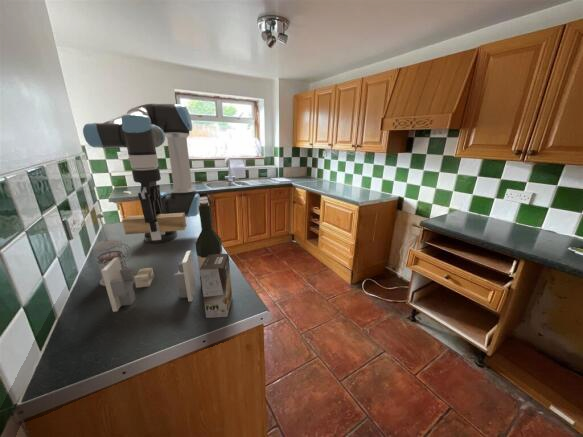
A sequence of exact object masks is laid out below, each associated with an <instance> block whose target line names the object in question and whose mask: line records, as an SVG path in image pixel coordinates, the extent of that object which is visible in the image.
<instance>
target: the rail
mask: <svg viewBox="0 0 583 437" xmlns="http://www.w3.org/2000/svg"><path fill="white" fill-rule="evenodd" d="M156 219H157V221H158V224H159V229H160V232H166V231H177V232H178V231H185V230H186V228H187V220H186V217H185V213H172V214H156ZM122 225H123V230H124V233H125V235H135V234H136V235H137V234H138V235H139V234H145V233H150V228H149V223H145V219H144V215H143V214H142V215H127V216H125V217H124V218H123V219H122Z"/></svg>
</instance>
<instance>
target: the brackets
mask: <svg viewBox="0 0 583 437" xmlns="http://www.w3.org/2000/svg"><path fill="white" fill-rule="evenodd" d="M108 263H109V264H108ZM108 263H107V264H108V265H107V266H106V267H105V268H104V269H103V270H102V275H103V278H104V282H105V285H106V286H105V288H106V293H107V295H108V298H109V302H110V306H111V309H112V312H113V313H115V312H118V311H119V309H120V308H121V307H122V306H130V305H133V304H134V302H135V300H136V294H135V290H134V286H133V285H134V284H135V278H134V277H135V274H134V271H133V267H127V268H125V267H124V269H122V268H121V264H120V260H119V257H116V258H114V259H113V260H112V261H109V262H108ZM177 266H178V271H179V272H180V273H178V272H175V273H173V281H174V285H175V290H178V295H179V299H182V298H187V301H188V302H189V303H190V302H193V299H194V296H195V292H196V288H197V284H196V278H195V269H194V264H193V256H192V250H186V252H185V255H184V257H183V259H182V262H179V263H178V265H177ZM102 275H101V276H102Z"/></svg>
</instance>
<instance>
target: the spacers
mask: <svg viewBox="0 0 583 437" xmlns="http://www.w3.org/2000/svg"><path fill="white" fill-rule="evenodd" d="M153 270H154V269H153V267H146V268H145V267H144V268H140V269H139V270H138V271H137V273H136V274H135V275H134V278H135V282H134V284H135V287H136V288H138V289H139V288H144V287H150V285H151V284H152V281H153V280H154V278H155V274H154V271H153ZM177 273H180V272H179V270H178V271H177Z"/></svg>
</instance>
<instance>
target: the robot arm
mask: <svg viewBox="0 0 583 437" xmlns="http://www.w3.org/2000/svg"><path fill="white" fill-rule="evenodd" d="M192 131H193V124H192V119H191V116H190V112H189V109H188V107H187V106H185V105H184V104H179V103H178V104H177V103H146V104H141V105H138V106H135V107H131V108H130V109H128V110H127V112H126V114H122V115H119V116H118V117H115V118H112V119H110V120H107V121H105V122H101V123H100V122H98V123H97V122H93V123H86V124H84V126H83V128H82V134H83V137H84V140H85V142H86V143H87V144H88V146H90V147H92V148H99V149H101V148H102V149H105V148H106V149H108V148H109V149H113V148H114V149H115V148H119V149H120V148H126V150H127V154H128V158H127V161H129V163H130V167H131V169H132V170H131V175H132V179H133V181H134V183H139V184H140V192H138V193H137V195H138V198H139V200H140V206H141V209H142V215H144V219H145V223H149V228H150V233H143V234H144V235H143V237H144V241H145V242H147V243H152V244H155V243H157V244H158V243H164V242H169V241H171V240H173V239H175V238H177V237H178V231H166V232H160V229H159V224H158V221H157V219H156V214H172V213H185V218H189V217H196V216H197V215H198V214H200V213H199V205H200V202H201V196H200V194H199V193H197V192H196V189H195V188H194V187H193V185H192V184H193V183H192V175H191V167H190V166H191V165H190V156H189V149H188V140H187V139H188V138H189V136H190V132H192ZM166 139H167V146H168V147H167V148H168V154H169V163H170V171H171V177H172V184H173V188H172V189H171V191H170V194H168V193H167V192H166V191H161V186H160V184H157V183H156V182H159V181H161V179H162V178H161V171H160V169H159V166H160V164H159V160H158V154H157V150H156V149H157V148H158V147H160V146H162V145H163V144H164V142H165V141H166Z"/></svg>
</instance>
